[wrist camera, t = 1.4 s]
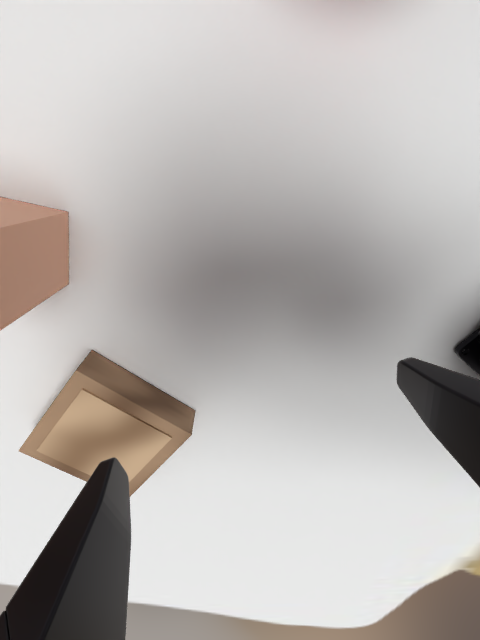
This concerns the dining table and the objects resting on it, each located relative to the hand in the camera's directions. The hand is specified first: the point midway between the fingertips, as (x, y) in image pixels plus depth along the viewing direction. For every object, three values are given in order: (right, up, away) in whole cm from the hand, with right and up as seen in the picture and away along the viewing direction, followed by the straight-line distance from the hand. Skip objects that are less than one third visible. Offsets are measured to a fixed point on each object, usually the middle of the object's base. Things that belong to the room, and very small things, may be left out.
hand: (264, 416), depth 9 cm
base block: (-11, -5, +15) cm, 19 cm away
